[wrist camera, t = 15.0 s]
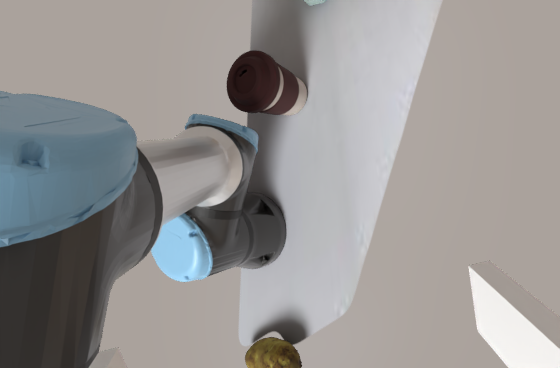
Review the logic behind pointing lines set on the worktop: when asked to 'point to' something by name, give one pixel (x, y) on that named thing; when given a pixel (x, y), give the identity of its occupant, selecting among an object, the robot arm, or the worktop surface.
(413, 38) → the worktop surface
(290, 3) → the worktop surface
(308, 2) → the bowl
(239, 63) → the coffee cup
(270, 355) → the potato
